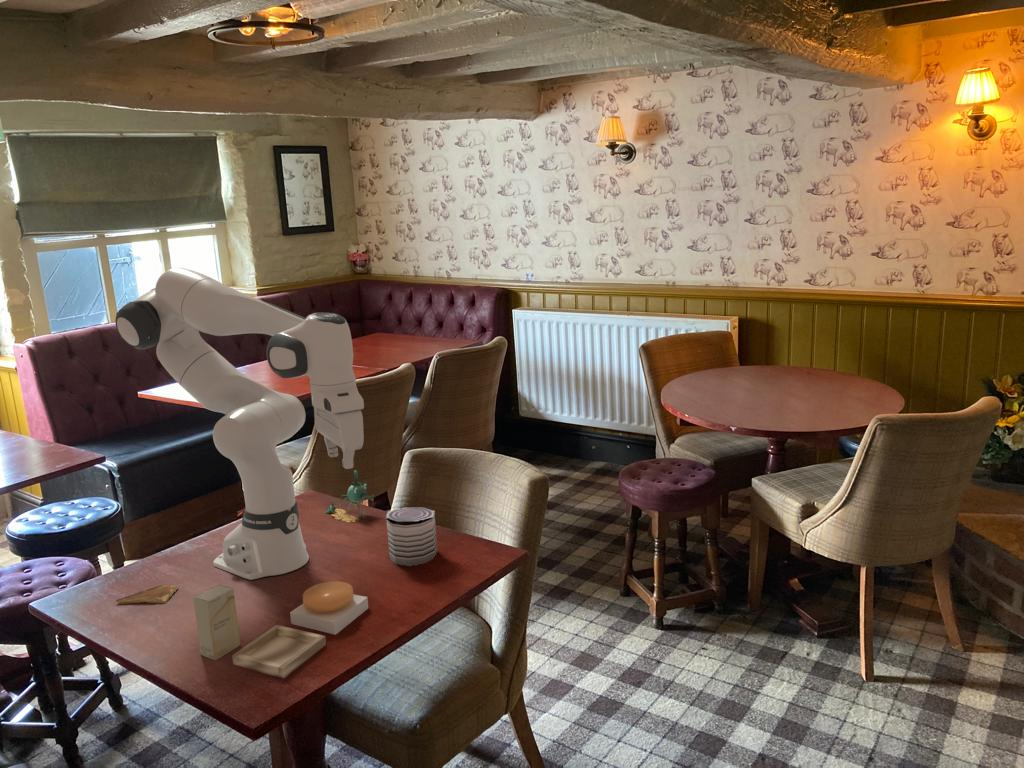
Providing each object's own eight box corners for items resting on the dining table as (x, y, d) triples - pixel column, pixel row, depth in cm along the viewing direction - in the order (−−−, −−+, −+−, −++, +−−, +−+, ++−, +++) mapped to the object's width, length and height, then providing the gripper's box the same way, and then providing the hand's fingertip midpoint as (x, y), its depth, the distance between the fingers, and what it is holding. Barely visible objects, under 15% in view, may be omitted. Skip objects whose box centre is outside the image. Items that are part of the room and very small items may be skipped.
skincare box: (215, 661, 153) (207, 602, 151) (199, 656, 156) (191, 597, 153) (242, 645, 159) (234, 587, 156) (226, 640, 161) (218, 583, 158)
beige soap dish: (233, 665, 152) (232, 655, 151) (277, 633, 162) (276, 624, 162) (283, 678, 147) (282, 668, 146) (326, 645, 157) (325, 636, 157)
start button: (293, 606, 164) (292, 599, 164) (324, 585, 173) (323, 578, 173) (333, 615, 160) (332, 607, 160) (363, 592, 169) (362, 585, 169)
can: (379, 562, 193) (375, 514, 190) (415, 546, 201) (411, 499, 199) (412, 574, 186) (408, 525, 183) (448, 557, 194) (444, 509, 191)
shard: (116, 606, 176) (115, 599, 175) (133, 590, 183) (133, 583, 183) (165, 607, 175) (164, 599, 175) (181, 590, 183) (180, 583, 182)
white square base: (291, 626, 165) (289, 612, 164) (326, 601, 175) (324, 588, 174) (335, 636, 160) (334, 622, 160) (368, 610, 170) (367, 597, 169)
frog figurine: (339, 510, 228) (344, 459, 225) (390, 529, 219) (396, 476, 216) (315, 518, 219) (320, 465, 217) (367, 538, 211) (373, 483, 208)
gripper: (303, 388, 170) (310, 452, 173) (334, 407, 152) (341, 477, 155) (333, 384, 173) (339, 447, 176) (366, 401, 155) (373, 471, 158)
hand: (340, 461), depth 165 cm, fingers open, 8 cm apart
